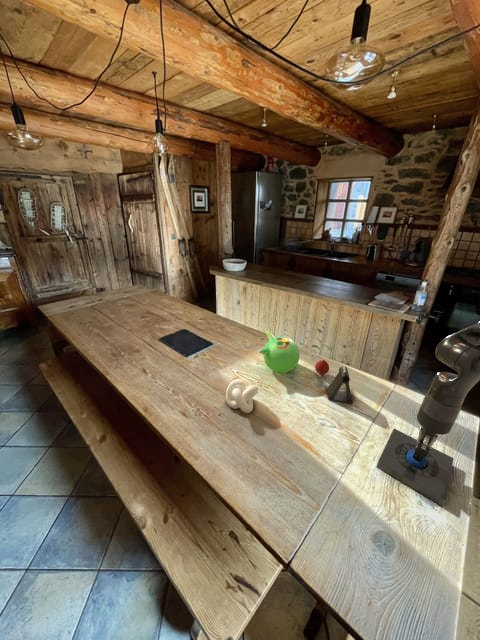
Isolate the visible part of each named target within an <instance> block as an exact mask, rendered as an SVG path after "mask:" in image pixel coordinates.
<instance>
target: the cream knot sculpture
mask: <svg viewBox="0 0 480 640" xmlns="http://www.w3.org/2000/svg"><path fill="white" fill-rule="evenodd" d="M258 393H259V386H257V385H256V384H252V385H250V386H248V384H247V382H245V380H243V379H240V378H239V379H238V378H237V379H234V380H232V381H231V382H230V383H229V384H228V386H227V388H226V391H225V400H226V403H227V405H228V406H229V408H231V409H240V410H241V411H242V412H243V413H246V414H250V413H251V412H252V411H253V408H254V403H253V402H254V401H253V397H254V396H255V395H256V394H258Z"/></svg>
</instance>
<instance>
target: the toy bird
mask: <svg viewBox="0 0 480 640" xmlns="http://www.w3.org/2000/svg"><path fill="white" fill-rule="evenodd" d="M265 334H266V337H267V343H266V344H265V346H264V347H263V348H260V349H259V350H258V353H259V354H262V355H263V360H264V363H265V365H266V366H267V367H268V368H269V369H270V370H271V371H274V372H276V373H287V372H290V371H292V370H293V369H295V368H296V366H297V365H298V364H299V361H300V357H301V355H300V354H301V353H300V349H299V346H298V345H297V343H296V342H295V341H294V340H292V339H291V338H289V337H287V336H277V337H275V336H274V335H273V334H272V333H271V332H270V331H269V330H266V332H265Z"/></svg>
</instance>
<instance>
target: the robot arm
mask: <svg viewBox="0 0 480 640" xmlns="http://www.w3.org/2000/svg"><path fill="white" fill-rule="evenodd" d="M434 354H435V357H436V359H437V361H439V362H441V363H442V364H444V365H446V366H447V367H449V368H450V369H451V370H452V371H453V370H454V371H455V372H456V373H452V372H448V371H440V372H437V373H436V374H435V375H434V377H433V379H432V381H431V383H430V386H429V388H428V391H427V392H426V394H425V396H424V397H423V400H422V401H421V405H420V407H419V409H418V412H417V414H416V420H417V422H418V423H419V425H420V429H419V431H418V437H417V438H416V440H417V443H418V444H417V446H416V448H415V452H414V454H413V458H414V459H415V460H417V461H419V462H422V460H423V457H426V456H427V454H428V452H429V451H430V449H431V448H433V445H434V443H436V442H437V440H438V437H439V436H438V435H448V434H449V433H450V432H451V430H452V428H453V427H454V425H455V423H456V421H457V418H458V416H459V414H460V412H461V408H462V406H463V403H464V401H465V399H466V397H467V395H468V393H469V392H470V391H471V390H472V389H473V388H474V387H475V385H476V384H478V383H479V382H480V320H479V321H478V322H476V323H475V324H471V325H470V326H468V327H466V328H463V329H461V330H459V331H457V332H454V333H452V334H450V335H448V336H446V337H445V338H443V339H441V341H440V342H439V343H437V345H436V348H435V352H434Z"/></svg>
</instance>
